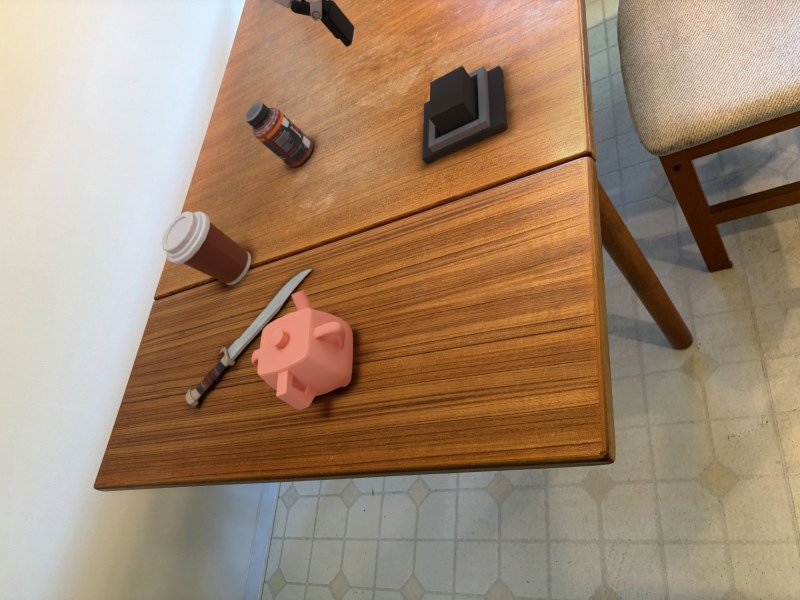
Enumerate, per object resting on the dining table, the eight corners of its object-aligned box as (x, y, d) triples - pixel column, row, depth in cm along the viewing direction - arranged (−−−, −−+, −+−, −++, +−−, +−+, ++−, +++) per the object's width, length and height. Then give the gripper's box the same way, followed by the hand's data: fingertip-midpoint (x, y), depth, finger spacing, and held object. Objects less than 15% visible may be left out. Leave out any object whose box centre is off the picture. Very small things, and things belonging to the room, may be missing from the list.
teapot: (334, 308, 74) (282, 274, 67) (383, 350, 65) (329, 316, 59) (282, 378, 74) (224, 351, 67) (324, 430, 65) (263, 404, 58)
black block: (476, 86, 75) (462, 65, 73) (478, 123, 72) (463, 101, 69) (444, 102, 78) (429, 82, 75) (444, 138, 75) (428, 118, 72)
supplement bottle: (320, 140, 96) (272, 94, 88) (304, 169, 95) (254, 125, 87) (300, 140, 100) (252, 97, 92) (284, 168, 99) (234, 126, 91)
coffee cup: (216, 266, 97) (156, 230, 89) (253, 234, 95) (195, 194, 86) (220, 302, 91) (156, 268, 83) (260, 270, 88) (198, 230, 80)
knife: (301, 255, 82) (311, 269, 78) (309, 261, 83) (319, 275, 79) (182, 386, 84) (185, 406, 80) (191, 391, 85) (194, 411, 81)
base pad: (503, 71, 76) (495, 58, 74) (507, 128, 70) (499, 116, 68) (428, 109, 82) (419, 97, 80) (426, 164, 76) (417, 153, 75)
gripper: (190, -63, 49) (320, 76, 61) (339, -204, 40) (458, -9, 52) (209, -105, 53) (329, 33, 65) (350, -243, 44) (458, -53, 56)
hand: (386, 14), depth 58 cm, fingers open, 9 cm apart
